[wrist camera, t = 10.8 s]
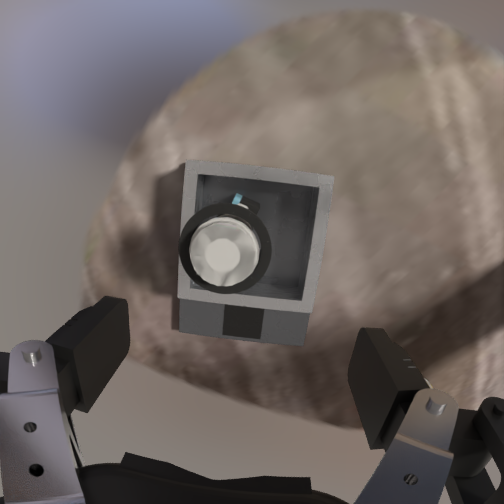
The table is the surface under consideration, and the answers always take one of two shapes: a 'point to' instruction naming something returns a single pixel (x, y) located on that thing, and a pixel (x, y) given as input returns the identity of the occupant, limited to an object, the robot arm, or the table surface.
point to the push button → (226, 247)
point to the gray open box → (283, 252)
